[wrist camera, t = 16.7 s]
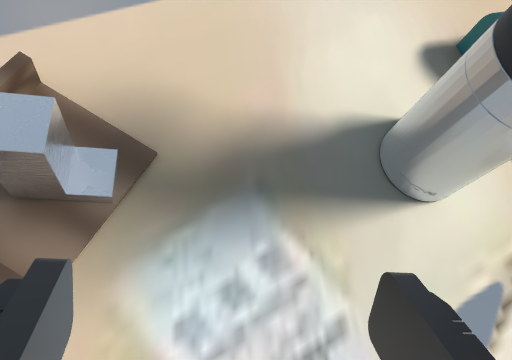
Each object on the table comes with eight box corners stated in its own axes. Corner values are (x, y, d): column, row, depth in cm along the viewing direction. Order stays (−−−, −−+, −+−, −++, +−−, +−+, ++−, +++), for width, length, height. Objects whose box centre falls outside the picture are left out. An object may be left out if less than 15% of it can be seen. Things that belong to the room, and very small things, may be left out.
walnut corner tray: (31, 79, 41) (19, 51, 37) (156, 154, 40) (156, 134, 37) (-112, 213, 34) (-144, 194, 30) (37, 306, 33) (22, 299, 30)
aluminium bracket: (13, 197, 36) (-30, 148, 28) (23, 150, 37) (-15, 90, 29) (113, 202, 37) (100, 157, 29) (119, 157, 39) (108, 102, 31)
